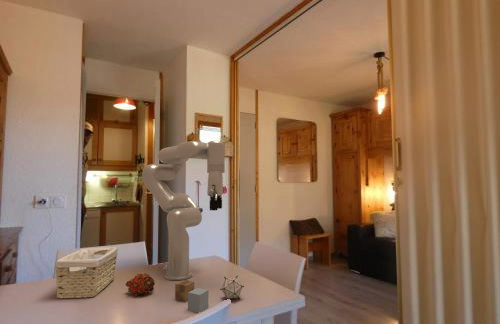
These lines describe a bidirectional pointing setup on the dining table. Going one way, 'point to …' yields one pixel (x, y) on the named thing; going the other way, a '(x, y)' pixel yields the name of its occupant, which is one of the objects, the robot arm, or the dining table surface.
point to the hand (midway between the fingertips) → (216, 209)
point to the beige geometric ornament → (232, 287)
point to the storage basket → (85, 272)
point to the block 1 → (183, 290)
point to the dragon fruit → (141, 284)
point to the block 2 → (197, 300)
